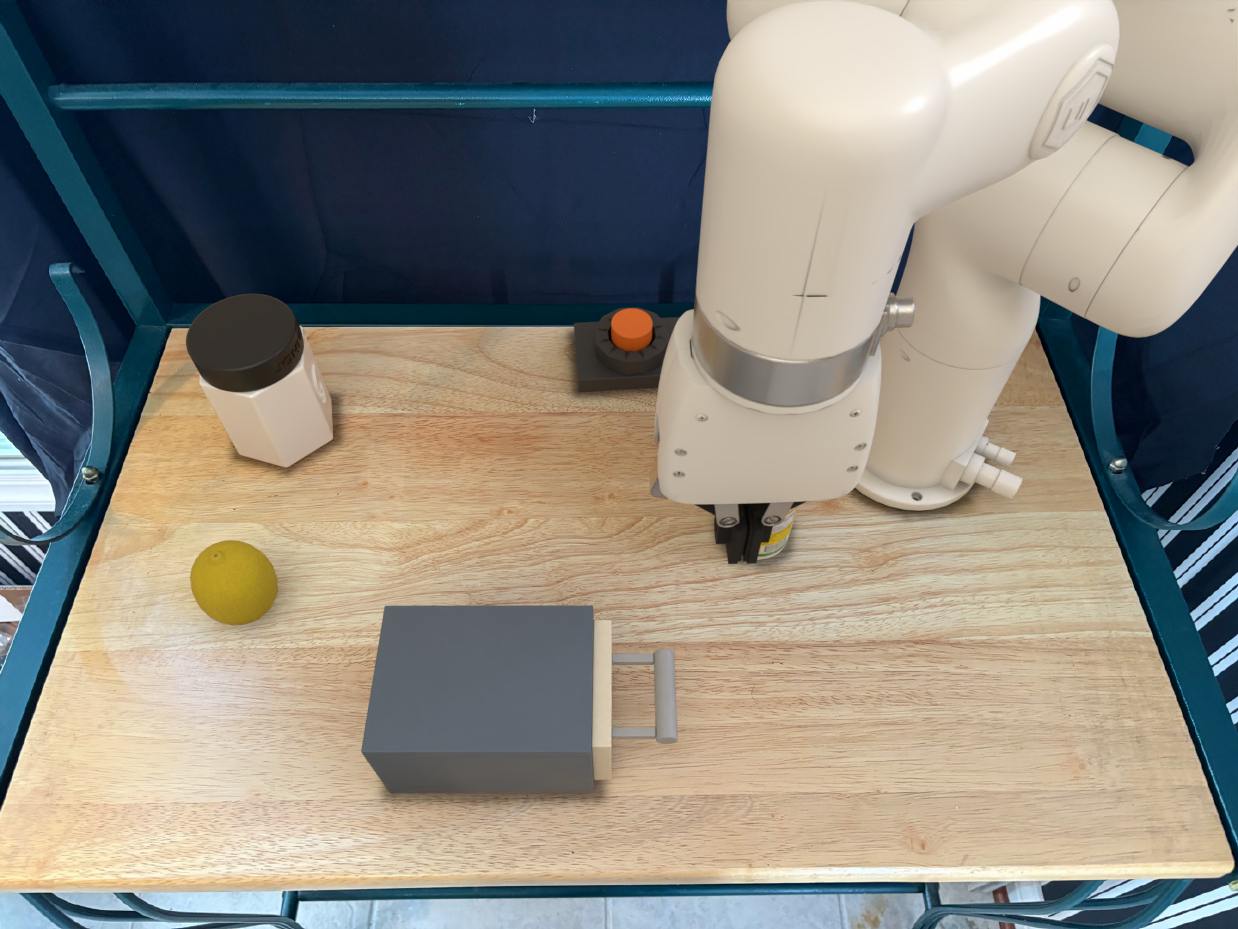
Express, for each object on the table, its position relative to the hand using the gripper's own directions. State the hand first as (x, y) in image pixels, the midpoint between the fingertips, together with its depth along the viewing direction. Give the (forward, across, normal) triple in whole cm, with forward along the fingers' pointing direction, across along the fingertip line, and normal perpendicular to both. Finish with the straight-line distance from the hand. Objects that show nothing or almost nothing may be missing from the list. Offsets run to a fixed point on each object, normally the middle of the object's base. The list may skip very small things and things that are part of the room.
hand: (739, 541), depth 53 cm
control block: (+17, +5, -29) cm, 34 cm away
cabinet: (+16, +16, +5) cm, 23 cm away
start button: (+14, +5, -29) cm, 32 cm away
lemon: (+16, +35, -5) cm, 38 cm away
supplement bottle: (+17, -4, -10) cm, 20 cm away
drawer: (+15, +12, +5) cm, 20 cm away
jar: (+16, +35, -22) cm, 44 cm away
